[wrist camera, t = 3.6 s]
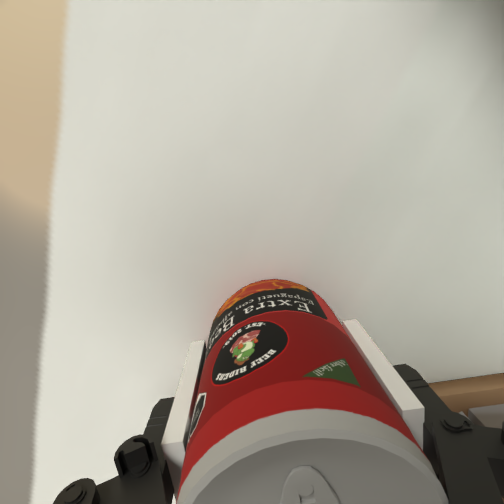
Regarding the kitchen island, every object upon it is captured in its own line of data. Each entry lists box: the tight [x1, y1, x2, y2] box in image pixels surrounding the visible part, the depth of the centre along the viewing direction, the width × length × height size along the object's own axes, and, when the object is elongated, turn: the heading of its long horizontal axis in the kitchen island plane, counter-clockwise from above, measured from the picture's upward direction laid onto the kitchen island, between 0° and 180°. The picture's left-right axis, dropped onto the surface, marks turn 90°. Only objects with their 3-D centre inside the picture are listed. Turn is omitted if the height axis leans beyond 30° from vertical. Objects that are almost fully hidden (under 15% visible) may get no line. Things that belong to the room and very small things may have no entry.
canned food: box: [176, 279, 449, 504], centre depth 13 cm, size 8×8×11 cm
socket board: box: [428, 373, 504, 502], centre depth 21 cm, size 16×16×3 cm
